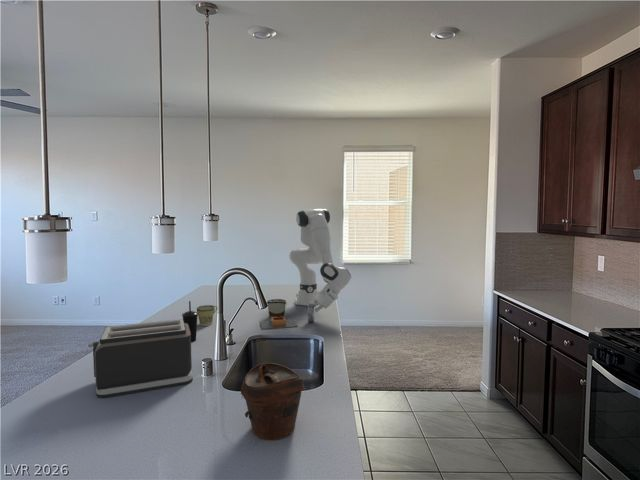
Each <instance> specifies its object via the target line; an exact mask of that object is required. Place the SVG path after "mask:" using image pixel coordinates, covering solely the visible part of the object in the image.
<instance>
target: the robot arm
mask: <svg viewBox="0 0 640 480" xmlns="http://www.w3.org/2000/svg"><path fill="white" fill-rule="evenodd" d="M295 218H296V223H297V225H298V226H299V227H300V242H301V244H303V245H305V246H307V248H306V247H304V248H303V247H302V248H301V247H300V248H294V249H291V251H290V252H289V260H290V262H291V263H292V264H294V266H296V267H297V269H298V272H299V276H300V277H299V278H300V279H299V280H300V284H299V290H298V292H297V293H296V294H295V295H296V298H295V303H294V305H298V306H299V305H300V306H307V303H312V302H314V303H315V306H314V312H316V313H318V312H319V311H320V310H322V309H327V308H329V307H330V306H331V305H332V304H333V303H334V302H335V301H337V300H338V298H339V297H338V296H339V294H340V293H341V291H342V290H343V289H345V287H346V286H347V285H348V284H349V283H350V282H351V279H352V275H351V273H350V272H349V270H348V269H347V268H346V267H341V266H338V265H335V264H334V262H333V257H332V253H331V252H332V251H331V234H330V228H329V223H330V220H331V215H330V212H329V210H328V209H326V208H313V209H307V210H300V211H298V212H297V213H296V217H295ZM318 264H319V265H320V264H322V265H321V266H320V269H319V271H320V273H319V274H320V275H321V277H322V279H323V281H324V282H325V283H326V284H325V286H324V287H323V288H322V289H321V290H320V291H319V290H318V283H317V272H316V271H315V270H314V269H312V268H310V267H309V266H308V265H318ZM317 305H318V306H317ZM316 306H317V307H316ZM307 307H308V306H307Z"/></svg>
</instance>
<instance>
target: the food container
mask: <svg viewBox="0 0 640 480" xmlns="http://www.w3.org/2000/svg"><path fill="white" fill-rule="evenodd" d="M287 304H288V303H287V301H286V300H285V299H282V298H274V299H269V300H267V301H266V305H267V310H268V316H269V317H268V318H271V317H283V316H284V317H285V315H286V306H287Z"/></svg>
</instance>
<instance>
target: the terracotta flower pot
mask: <svg viewBox="0 0 640 480" xmlns="http://www.w3.org/2000/svg"><path fill="white" fill-rule="evenodd" d="M303 391H304V392H305V391H306V388H305V384H304V379H303V378H302V376H301V375H300V374H298V373H297V372H296V371H295V370H293V369H291V368H289V367H287V366H285V365H283V364H280V363H279V364H278V363H274V362H264V363H260V364H259V363H258V364H256V365H255V366H254V367H252V368H251V369H250V370H248V371H247V373H246V375H244V377H243V380H242V384H241V389H240V395H242V397H241V399H244V400H245V404H246V407H247V410H246V412H245V413H244V415H245V418H248V419H249V421H250V424H251V425H250V426H251V430H252V432H253V434H254V435H256V437H258V438H261V439H263V440H268V441H273V440H274V441H275V440H280V439H283V438H286V437H288V436H290V435H291V434H292V433H293V432H294V430H295V428H296V422H297V418H298V417H297V416H298V413H299V412H298V411H299V407H300V402H301V398H302V392H303Z"/></svg>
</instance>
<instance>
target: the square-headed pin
mask: <svg viewBox="0 0 640 480" xmlns="http://www.w3.org/2000/svg"><path fill="white" fill-rule="evenodd" d="M314 306H315V303H314V302H312V303H307V323H308V324H314V323H315V307H316V306H315V307H314Z"/></svg>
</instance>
